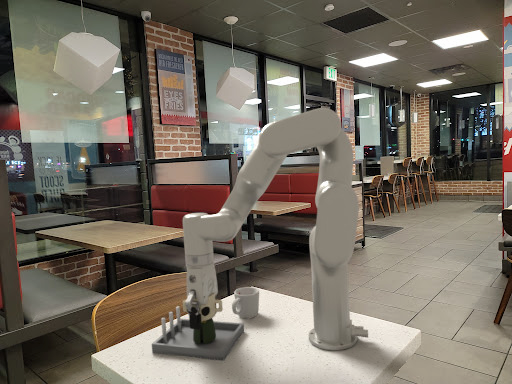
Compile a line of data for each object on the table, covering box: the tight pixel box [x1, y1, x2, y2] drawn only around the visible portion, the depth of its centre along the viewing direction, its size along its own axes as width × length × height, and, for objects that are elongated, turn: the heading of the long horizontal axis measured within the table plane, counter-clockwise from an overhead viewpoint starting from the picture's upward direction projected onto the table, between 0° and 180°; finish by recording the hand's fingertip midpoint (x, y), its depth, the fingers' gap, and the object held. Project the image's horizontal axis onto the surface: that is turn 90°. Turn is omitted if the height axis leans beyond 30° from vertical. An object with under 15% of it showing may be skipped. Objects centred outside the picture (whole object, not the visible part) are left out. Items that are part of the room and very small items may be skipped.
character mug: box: [182, 292, 223, 344], centre depth 100 cm, size 11×7×13 cm, turn 84°
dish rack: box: [151, 305, 245, 362], centre depth 101 cm, size 20×16×8 cm
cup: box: [231, 286, 260, 319], centre depth 117 cm, size 11×8×8 cm
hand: (204, 320), depth 101 cm, fingers open, 9 cm apart
